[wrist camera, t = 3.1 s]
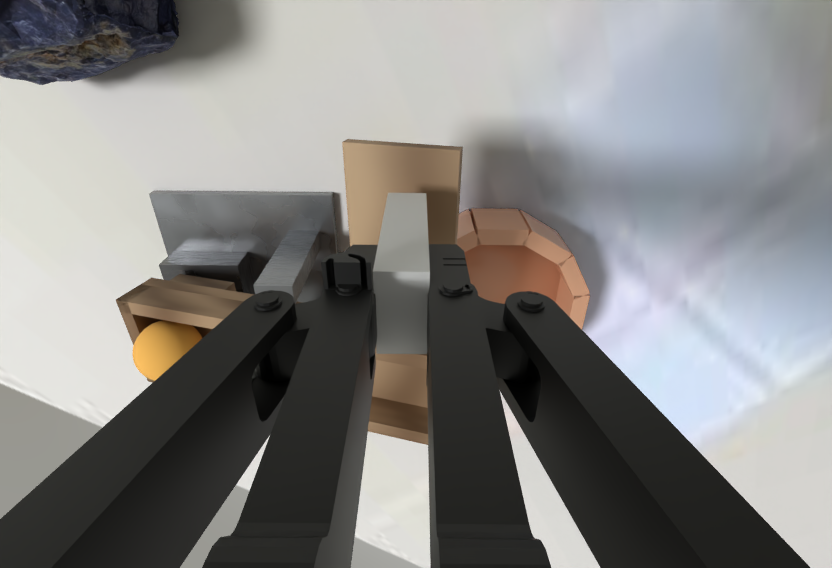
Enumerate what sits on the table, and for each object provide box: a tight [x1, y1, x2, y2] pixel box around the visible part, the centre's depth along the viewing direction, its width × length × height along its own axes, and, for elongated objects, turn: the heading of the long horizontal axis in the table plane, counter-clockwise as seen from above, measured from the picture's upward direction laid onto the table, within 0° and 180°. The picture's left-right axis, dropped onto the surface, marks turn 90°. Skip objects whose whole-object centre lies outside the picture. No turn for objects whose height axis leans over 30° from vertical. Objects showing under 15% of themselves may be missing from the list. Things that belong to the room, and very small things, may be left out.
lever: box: [116, 139, 463, 445], centre depth 23 cm, size 18×15×4 cm
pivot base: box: [149, 191, 338, 304], centre depth 28 cm, size 12×14×8 cm
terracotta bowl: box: [457, 208, 590, 330], centre depth 30 cm, size 12×12×4 cm
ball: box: [133, 320, 202, 381], centre depth 25 cm, size 4×4×4 cm
